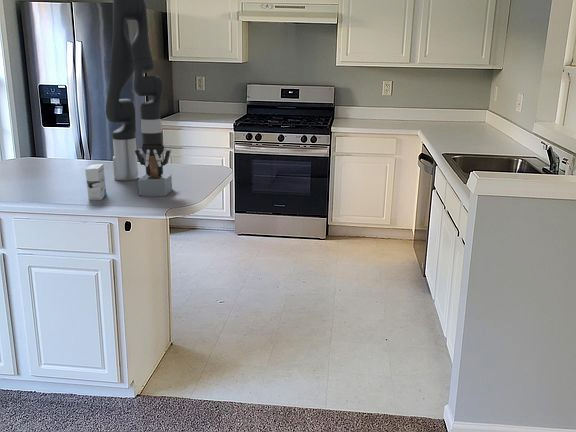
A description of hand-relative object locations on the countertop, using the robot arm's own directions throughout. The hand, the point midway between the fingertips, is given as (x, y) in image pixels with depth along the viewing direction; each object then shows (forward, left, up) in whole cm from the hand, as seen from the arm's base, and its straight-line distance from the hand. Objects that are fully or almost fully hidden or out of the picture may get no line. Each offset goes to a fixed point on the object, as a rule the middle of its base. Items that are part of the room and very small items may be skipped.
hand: (154, 175), depth 216 cm
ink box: (-20, -8, -7) cm, 23 cm away
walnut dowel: (0, 0, -2) cm, 2 cm away
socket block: (0, 0, -7) cm, 7 cm away
